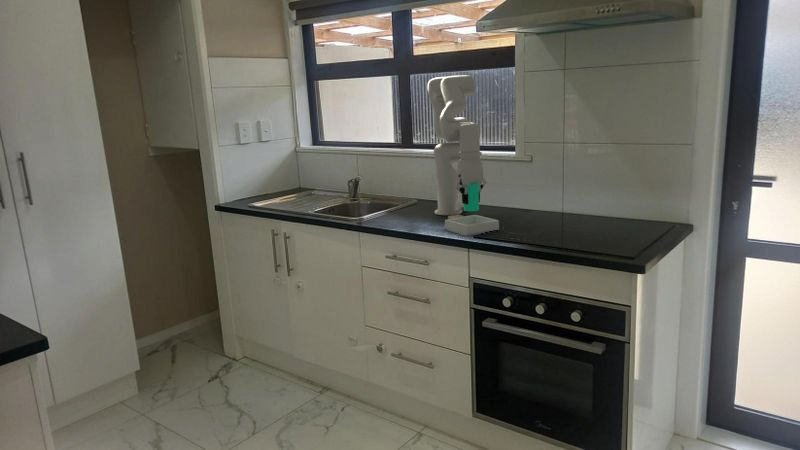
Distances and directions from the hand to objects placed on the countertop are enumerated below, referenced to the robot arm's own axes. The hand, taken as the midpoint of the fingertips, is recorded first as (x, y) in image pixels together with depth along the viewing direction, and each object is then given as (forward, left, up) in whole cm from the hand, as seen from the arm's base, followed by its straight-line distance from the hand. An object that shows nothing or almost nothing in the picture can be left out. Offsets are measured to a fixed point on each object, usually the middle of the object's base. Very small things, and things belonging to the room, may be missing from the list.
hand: (471, 202), depth 227 cm
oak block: (-1, -11, -11) cm, 16 cm away
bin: (0, 0, -11) cm, 11 cm away
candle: (0, 0, -3) cm, 3 cm away
